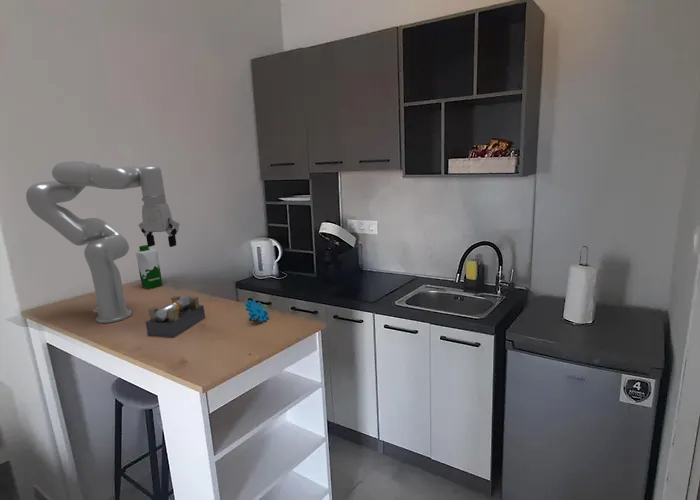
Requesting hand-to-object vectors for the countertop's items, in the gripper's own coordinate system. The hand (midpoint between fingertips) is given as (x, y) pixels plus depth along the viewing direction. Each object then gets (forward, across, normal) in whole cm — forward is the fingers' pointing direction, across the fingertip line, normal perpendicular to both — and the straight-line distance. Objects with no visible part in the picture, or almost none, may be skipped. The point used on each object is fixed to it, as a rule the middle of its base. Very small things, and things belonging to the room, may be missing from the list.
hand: (162, 246), depth 164 cm
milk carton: (+28, -39, +34) cm, 59 cm away
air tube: (+21, +8, -8) cm, 24 cm away
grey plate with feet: (+28, +8, -8) cm, 30 cm away
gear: (+29, +36, +2) cm, 46 cm away
